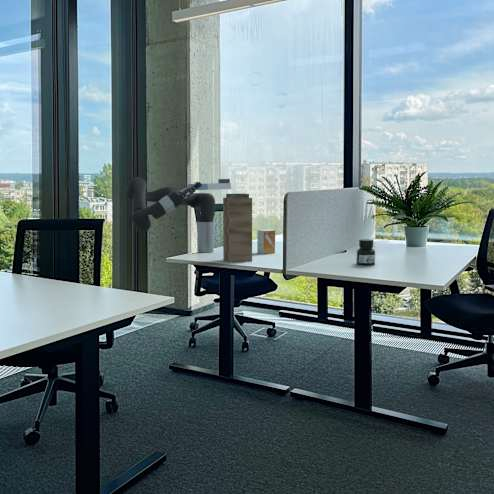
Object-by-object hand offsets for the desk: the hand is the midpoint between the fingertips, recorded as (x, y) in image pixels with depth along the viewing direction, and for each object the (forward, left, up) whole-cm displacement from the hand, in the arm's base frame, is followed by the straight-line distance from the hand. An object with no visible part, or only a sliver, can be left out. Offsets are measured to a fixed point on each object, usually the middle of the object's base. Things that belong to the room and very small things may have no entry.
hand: (199, 183), depth 264 cm
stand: (-2, +20, -39) cm, 44 cm away
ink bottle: (+31, +75, -39) cm, 91 cm away
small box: (-21, +44, -39) cm, 63 cm away
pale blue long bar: (0, +5, -3) cm, 6 cm away
